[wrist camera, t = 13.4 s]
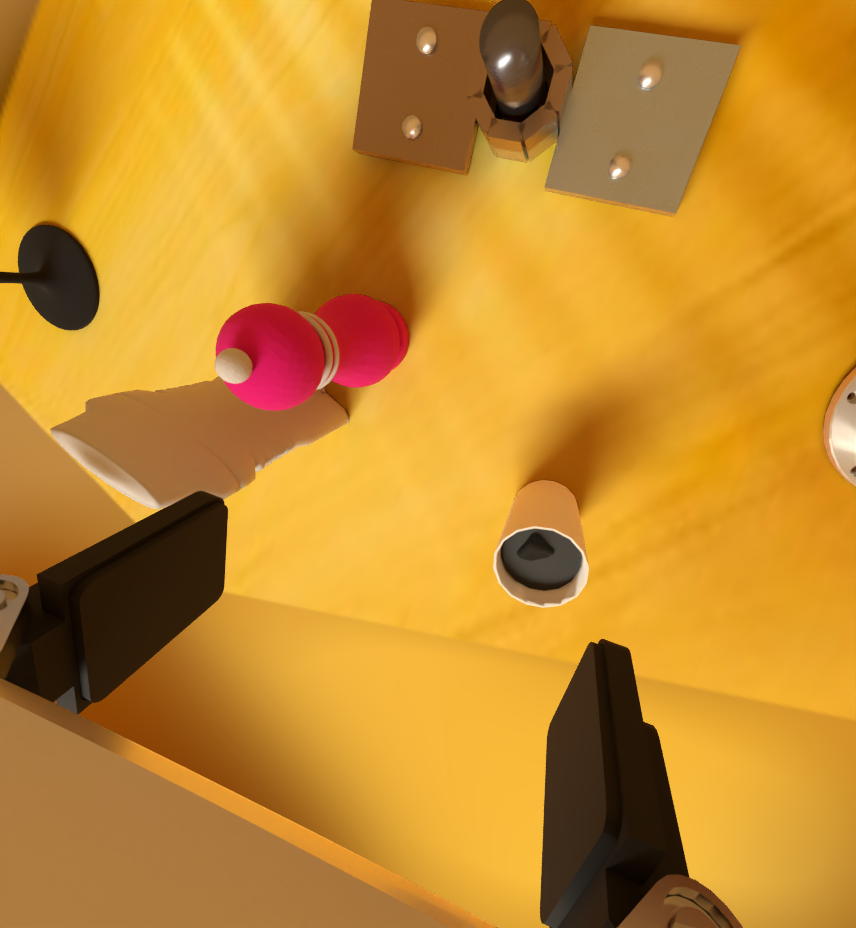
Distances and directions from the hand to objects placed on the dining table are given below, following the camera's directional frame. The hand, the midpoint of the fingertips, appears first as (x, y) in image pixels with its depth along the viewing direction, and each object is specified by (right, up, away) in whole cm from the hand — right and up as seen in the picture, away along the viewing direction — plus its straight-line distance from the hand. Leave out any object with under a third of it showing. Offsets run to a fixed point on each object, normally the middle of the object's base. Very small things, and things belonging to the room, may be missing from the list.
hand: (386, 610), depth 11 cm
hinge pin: (+8, +28, +21) cm, 36 cm away
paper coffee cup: (+12, -1, +30) cm, 33 cm away
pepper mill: (-4, +15, +29) cm, 33 cm away
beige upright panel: (-11, +10, +33) cm, 36 cm away
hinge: (+8, +28, +21) cm, 36 cm away
